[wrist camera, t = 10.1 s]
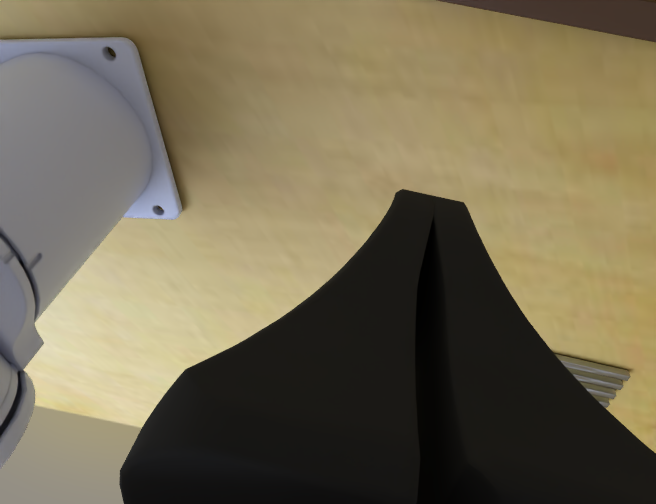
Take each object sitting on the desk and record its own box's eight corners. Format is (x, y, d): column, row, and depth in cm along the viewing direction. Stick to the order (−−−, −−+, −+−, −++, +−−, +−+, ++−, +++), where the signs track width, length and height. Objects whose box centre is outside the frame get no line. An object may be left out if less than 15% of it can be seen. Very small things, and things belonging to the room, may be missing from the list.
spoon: (395, 36, 19) (393, 40, 19) (422, -100, 17) (421, -98, 16) (818, 119, 18) (825, 126, 18) (916, -12, 16) (927, -7, 15)
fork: (315, 333, 29) (313, 339, 29) (321, 299, 28) (319, 305, 27) (605, 401, 28) (607, 408, 28) (629, 370, 27) (630, 377, 26)
